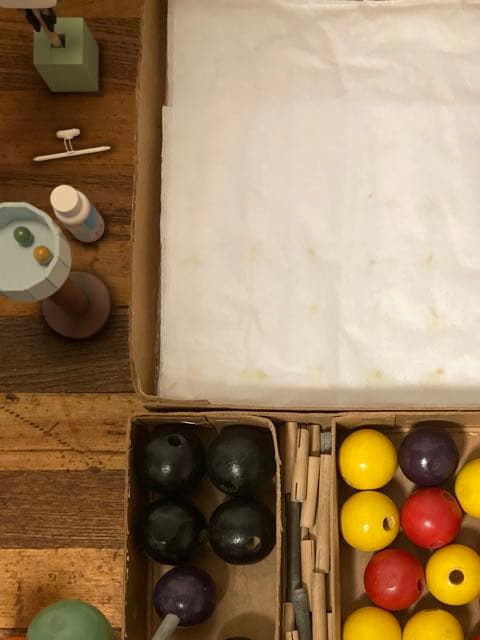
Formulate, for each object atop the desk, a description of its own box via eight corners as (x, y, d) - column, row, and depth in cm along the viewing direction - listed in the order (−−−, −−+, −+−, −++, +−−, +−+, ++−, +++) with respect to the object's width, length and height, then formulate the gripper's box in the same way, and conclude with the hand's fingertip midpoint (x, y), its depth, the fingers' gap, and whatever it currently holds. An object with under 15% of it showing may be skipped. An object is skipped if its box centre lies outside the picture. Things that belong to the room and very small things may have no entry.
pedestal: (44, 339, 150) (-13, 298, 129) (45, 273, 150) (-11, 221, 129) (112, 338, 150) (66, 297, 129) (112, 273, 151) (67, 221, 130)
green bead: (17, 247, 129) (10, 240, 126) (18, 230, 129) (10, 223, 126) (34, 247, 129) (27, 240, 126) (35, 230, 129) (27, 223, 126)
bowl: (-17, 302, 129) (-34, 290, 124) (-16, 217, 130) (-32, 202, 125) (71, 301, 129) (58, 290, 124) (72, 216, 130) (59, 201, 125)
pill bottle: (92, 204, 151) (68, 173, 140) (112, 231, 151) (89, 201, 140) (64, 223, 151) (38, 193, 140) (84, 250, 151) (59, 222, 140)
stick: (64, 68, 151) (26, 5, 135) (64, 59, 151) (26, -5, 135) (73, 68, 151) (36, 5, 135) (73, 59, 151) (36, -5, 135)
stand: (51, 91, 153) (33, 64, 145) (52, 47, 153) (33, 17, 145) (98, 91, 153) (82, 64, 145) (98, 47, 153) (82, 17, 145)
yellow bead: (37, 266, 129) (29, 259, 126) (37, 249, 129) (30, 242, 126) (54, 266, 129) (47, 259, 126) (54, 249, 129) (47, 242, 126)
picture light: (34, 162, 152) (29, 156, 150) (31, 139, 152) (25, 133, 150) (111, 150, 152) (107, 144, 150) (107, 127, 152) (103, 121, 150)
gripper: (-61, -39, 122) (-3, 45, 140) (49, -39, 122) (92, 45, 140) (-60, -88, 122) (-2, 2, 140) (50, -87, 123) (93, 3, 141)
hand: (45, 23), depth 140 cm, fingers closed on stick, 1 cm apart
